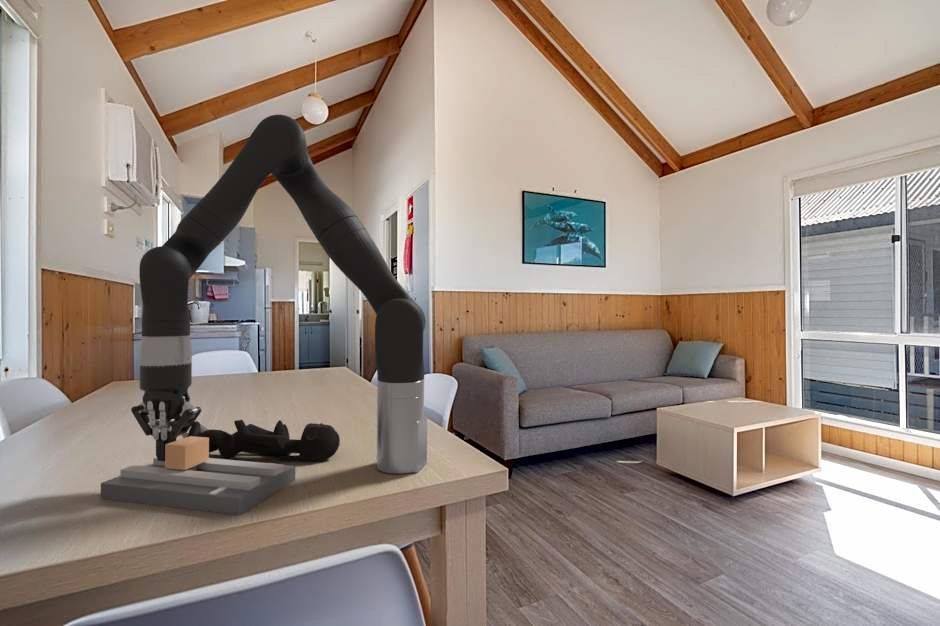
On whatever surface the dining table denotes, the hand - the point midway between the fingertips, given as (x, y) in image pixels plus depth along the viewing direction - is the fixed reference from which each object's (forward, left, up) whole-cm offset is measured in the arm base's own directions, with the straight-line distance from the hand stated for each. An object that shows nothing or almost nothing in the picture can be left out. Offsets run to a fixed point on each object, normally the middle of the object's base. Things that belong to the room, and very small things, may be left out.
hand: (165, 459), depth 76 cm
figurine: (-8, -17, -5) cm, 19 cm away
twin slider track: (-8, 0, -4) cm, 9 cm away
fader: (-5, 0, -2) cm, 5 cm away
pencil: (+18, -26, -5) cm, 32 cm away
